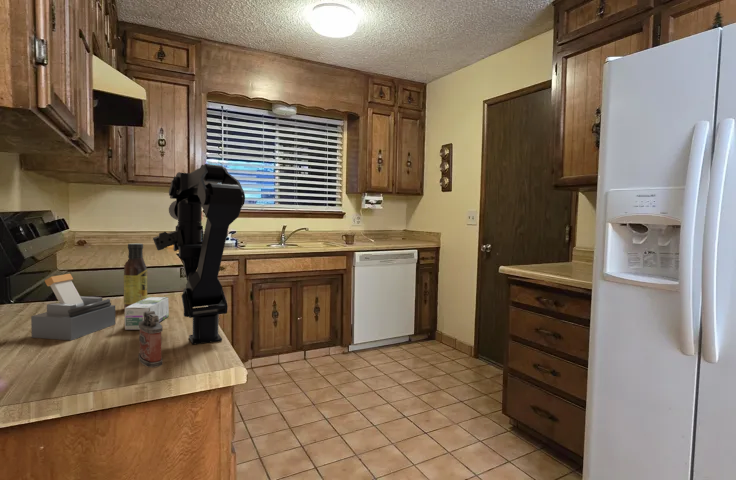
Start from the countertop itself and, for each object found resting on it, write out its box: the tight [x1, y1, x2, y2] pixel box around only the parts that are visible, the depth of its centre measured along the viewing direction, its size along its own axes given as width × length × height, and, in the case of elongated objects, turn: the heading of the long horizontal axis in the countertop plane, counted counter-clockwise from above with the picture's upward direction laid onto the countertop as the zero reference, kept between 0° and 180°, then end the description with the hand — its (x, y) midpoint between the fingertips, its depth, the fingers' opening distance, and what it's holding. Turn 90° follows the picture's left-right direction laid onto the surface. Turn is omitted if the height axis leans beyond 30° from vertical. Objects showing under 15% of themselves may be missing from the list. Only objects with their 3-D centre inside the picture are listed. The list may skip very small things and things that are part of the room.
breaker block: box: [30, 295, 116, 341], centre depth 100 cm, size 10×14×7 cm
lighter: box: [138, 311, 163, 368], centre depth 82 cm, size 8×3×10 cm, turn 45°
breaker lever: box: [44, 273, 84, 308], centre depth 100 cm, size 2×6×9 cm, turn 174°
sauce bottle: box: [123, 242, 148, 309], centre depth 124 cm, size 7×6×20 cm
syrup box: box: [124, 296, 170, 331], centre depth 109 cm, size 6×6×14 cm
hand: (189, 280), depth 107 cm, fingers closed
